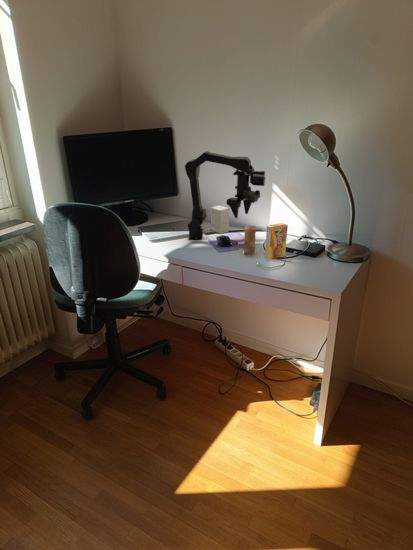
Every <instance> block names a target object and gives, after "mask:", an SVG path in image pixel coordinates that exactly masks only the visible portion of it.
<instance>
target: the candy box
mask: <svg viewBox="0 0 413 550" xmlns="http://www.w3.org/2000/svg"><path fill="white" fill-rule="evenodd" d="M288 228H289V225H288V224H285V223H284V222H280V223H275V224H268V225H266V233H265V234H266V235H265V251H264V257H266V258H267V259H268V260H270V259H271V260H272V259H276V258H281V257H285V256H286V249H287V236H288Z"/></svg>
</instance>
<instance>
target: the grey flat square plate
mask: <svg viewBox="0 0 413 550" xmlns="http://www.w3.org/2000/svg"><path fill="white" fill-rule="evenodd" d="M260 250H261V249H259V248H255V255H244V248H238V256H237V257H239V258H245V257H246V258H261V251H260Z"/></svg>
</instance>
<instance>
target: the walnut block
mask: <svg viewBox="0 0 413 550" xmlns="http://www.w3.org/2000/svg"><path fill="white" fill-rule="evenodd" d="M256 230H257V227H256V225H244V234H243V235H244V239H243V240H244V241H243V242H244V243H243V249H244V255H255V249H256V247H255V246H256V234H257V233H256V232H257V231H256Z"/></svg>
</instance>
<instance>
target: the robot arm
mask: <svg viewBox="0 0 413 550" xmlns="http://www.w3.org/2000/svg"><path fill="white" fill-rule="evenodd" d="M206 162H209V163H210V162H211V163H215V164H219V165H220V164H221V165H223V166H224V165H225V166H229V167H232V168H233V169H235V170H236V171H234V172H233V173H232V175H233V176H237V177H236V178H237V179H236V185H235V187H234V190H236V194H234V197H232V196H231V197H229V198H227V199H226V202H225V204H226V205H227V206H228V207H229V209H230V210H231V212H232V214H233V216H234V218H235V219H238V215H239V209H240V208H241V207H242V205H241V204H243V209H244V213H245V214H246V215H248V214H249V211H250V209H251V206H252V204H255V203H256V202H258V200H259V199H260V198H261V190H259V189H256V190H252V187H251V186H250V184H251V185H252V186H256V187H258V186H260V187H265V184H266V171H265V170H261V171H260V170H255V169H254V167H253V166H252V162H251V159H250V157H247V156H230V155H229V156H228V155H225V154H221V153H219V154H218V153H214V152H210V151H208V150H207V151H204V152H203V153H202V154H201V155H199V156H198V157H197V158H193V159H190V160H189V161H188V162H186V163H185V165H184V169H185V172H186V175H187V178H188V180H189V186H190V193H191V194H190V195H191V200H192V201H191V202H192V213H191V220H190V221H189V223H188V224H187V228H188V241H190V240H192V241H193V240H194V241H195V240H196V241H197V240H198V241H202V238H203V236H204V232H203V231H204V229H203V226H202V224H203V223H204V222H205V220H206V219H207V216H208V215H207V209H206V208H204V207H203V205H202V197H201V196H202V195H201V190H200V182H199V181H200V180H199V179H200V178H199V177H200V171H201V170H200V168H201V167H200V166H202V165H203V164H204V163H206ZM242 202H243V203H242Z"/></svg>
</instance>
